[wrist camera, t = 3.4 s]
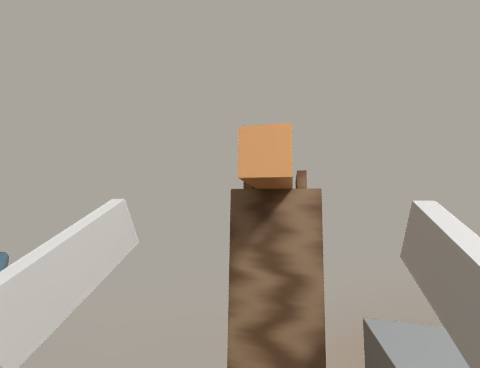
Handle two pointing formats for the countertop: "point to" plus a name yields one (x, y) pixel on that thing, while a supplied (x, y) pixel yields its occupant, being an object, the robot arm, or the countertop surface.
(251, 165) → the light orange bar
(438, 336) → the grey block
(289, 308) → the stand
